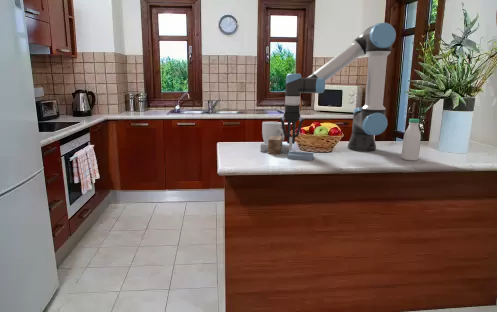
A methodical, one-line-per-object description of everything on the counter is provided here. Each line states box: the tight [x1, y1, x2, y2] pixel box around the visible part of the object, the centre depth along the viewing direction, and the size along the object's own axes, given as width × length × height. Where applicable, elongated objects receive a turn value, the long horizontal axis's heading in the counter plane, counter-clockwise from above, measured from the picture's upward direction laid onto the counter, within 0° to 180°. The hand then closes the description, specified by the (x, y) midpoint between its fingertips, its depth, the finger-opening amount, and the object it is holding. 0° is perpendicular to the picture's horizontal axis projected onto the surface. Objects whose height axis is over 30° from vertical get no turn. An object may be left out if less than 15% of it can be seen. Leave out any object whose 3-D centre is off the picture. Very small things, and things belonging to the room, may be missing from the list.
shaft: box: [260, 143, 291, 154], centre depth 188 cm, size 15×4×4 cm, turn 78°
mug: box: [261, 120, 285, 144], centre depth 203 cm, size 15×11×13 cm
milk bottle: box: [401, 118, 422, 162], centre depth 173 cm, size 8×8×20 cm
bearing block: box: [267, 135, 284, 155], centre depth 187 cm, size 6×12×8 cm, turn 168°
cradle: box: [287, 150, 314, 161], centre depth 175 cm, size 12×9×2 cm
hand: (290, 149), depth 186 cm, fingers closed
